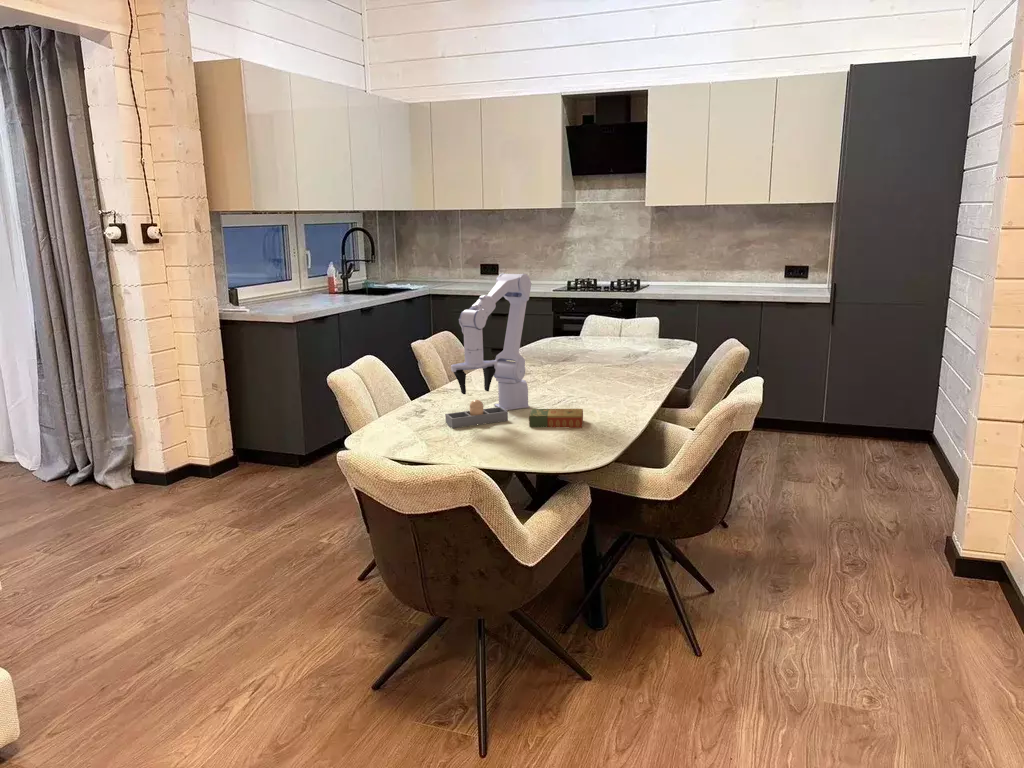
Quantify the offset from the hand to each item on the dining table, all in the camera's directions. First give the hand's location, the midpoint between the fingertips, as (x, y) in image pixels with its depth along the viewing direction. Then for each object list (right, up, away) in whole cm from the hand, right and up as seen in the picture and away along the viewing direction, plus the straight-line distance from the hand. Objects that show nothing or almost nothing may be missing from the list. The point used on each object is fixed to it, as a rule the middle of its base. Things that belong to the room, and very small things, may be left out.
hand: (475, 392), depth 231 cm
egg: (0, -8, +1) cm, 8 cm away
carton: (+25, -10, -2) cm, 27 cm away
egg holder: (0, -9, +1) cm, 9 cm away
